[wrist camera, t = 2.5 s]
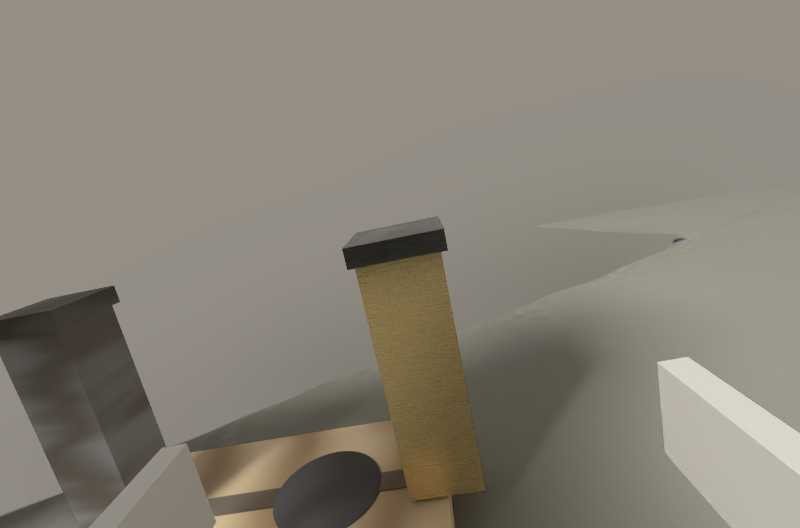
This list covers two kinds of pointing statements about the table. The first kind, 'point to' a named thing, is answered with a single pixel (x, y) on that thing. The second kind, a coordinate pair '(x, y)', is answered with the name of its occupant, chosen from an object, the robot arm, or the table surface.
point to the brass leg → (418, 355)
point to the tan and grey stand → (217, 468)
